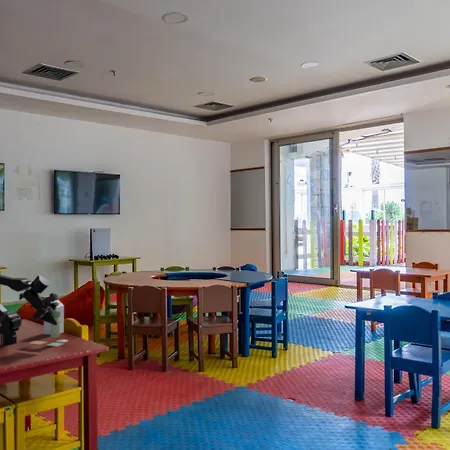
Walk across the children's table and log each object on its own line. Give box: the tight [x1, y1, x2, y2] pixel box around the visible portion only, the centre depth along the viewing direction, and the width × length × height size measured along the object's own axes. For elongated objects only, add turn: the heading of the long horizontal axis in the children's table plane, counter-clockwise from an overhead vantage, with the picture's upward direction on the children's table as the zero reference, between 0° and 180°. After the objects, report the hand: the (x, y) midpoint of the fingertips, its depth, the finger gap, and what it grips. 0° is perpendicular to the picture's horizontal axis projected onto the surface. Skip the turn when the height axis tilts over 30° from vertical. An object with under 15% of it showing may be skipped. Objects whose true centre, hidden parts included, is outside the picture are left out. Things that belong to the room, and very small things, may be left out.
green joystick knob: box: [50, 310, 61, 338], centre depth 229 cm, size 4×4×12 cm
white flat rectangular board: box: [27, 339, 68, 348], centre depth 233 cm, size 18×14×1 cm
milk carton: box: [43, 299, 65, 336], centre depth 253 cm, size 7×7×19 cm
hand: (58, 323), depth 229 cm, fingers closed on green joystick knob, 4 cm apart
